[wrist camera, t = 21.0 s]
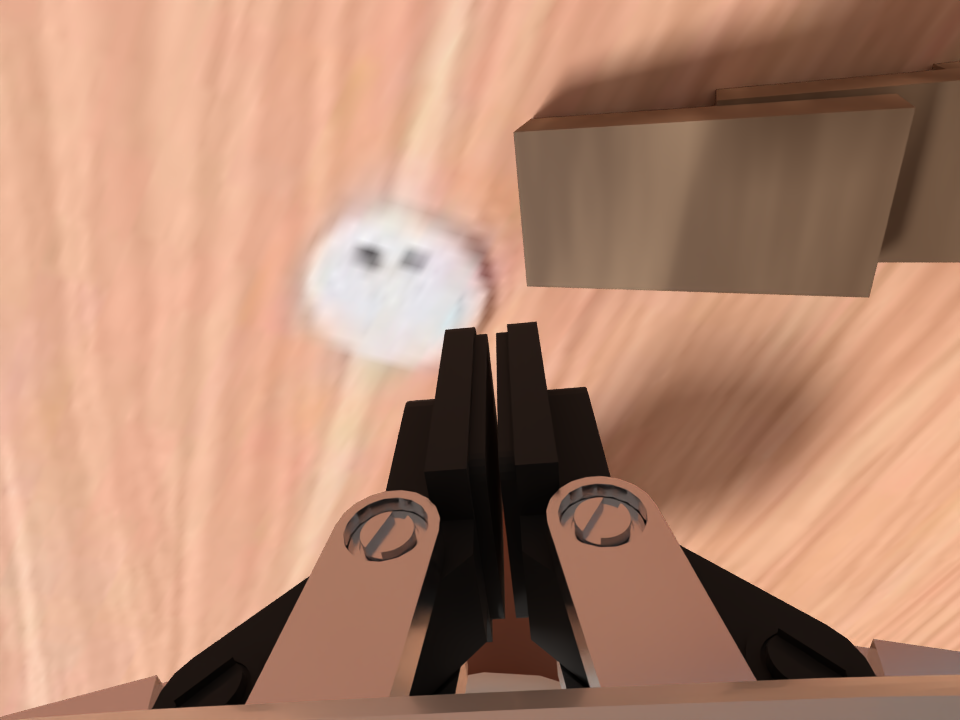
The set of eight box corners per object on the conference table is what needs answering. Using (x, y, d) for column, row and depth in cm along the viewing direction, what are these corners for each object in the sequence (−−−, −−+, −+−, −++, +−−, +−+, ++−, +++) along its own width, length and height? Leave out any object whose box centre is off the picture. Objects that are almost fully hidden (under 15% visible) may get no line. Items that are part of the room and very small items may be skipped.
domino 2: (716, 89, 19) (1129, 52, 15) (705, 240, 21) (1057, 236, 18) (717, 100, 17) (1178, 61, 14) (705, 262, 20) (1091, 262, 16)
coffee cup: (456, 616, 32) (445, 901, 22) (363, 510, 28) (295, 801, 18) (612, 563, 30) (680, 854, 20) (536, 440, 26) (572, 726, 16)
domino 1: (531, 118, 19) (896, 93, 16) (541, 263, 22) (856, 268, 18) (513, 131, 17) (915, 107, 14) (526, 286, 20) (869, 297, 17)
